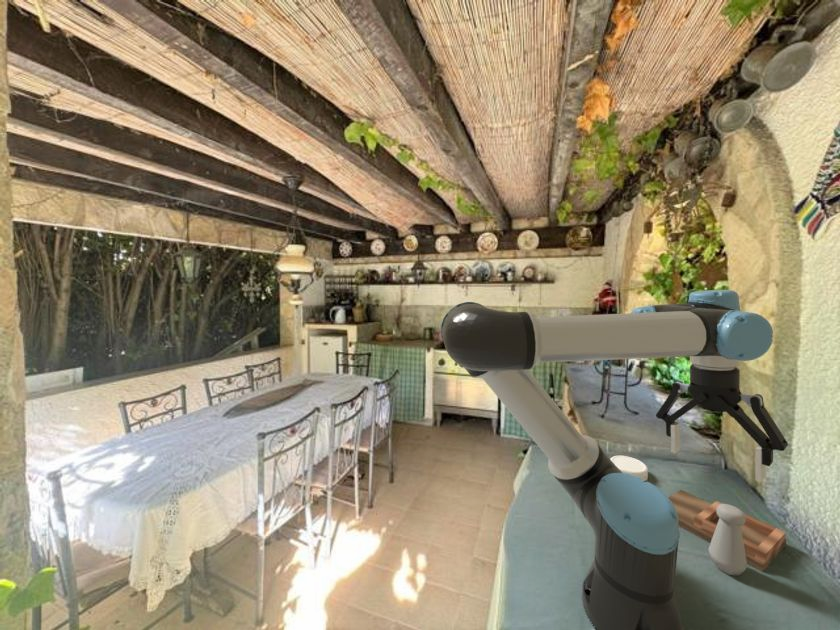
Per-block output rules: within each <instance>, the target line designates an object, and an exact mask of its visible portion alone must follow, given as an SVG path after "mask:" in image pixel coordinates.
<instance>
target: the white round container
mask: <svg viewBox="0 0 840 630" xmlns="http://www.w3.org/2000/svg"><path fill="white" fill-rule="evenodd" d="M610 460H611V461H612V462H613V463H614V464H615V465H616V466H617V467H618V468H619V469H620V470H621V471H622V472H623V473H624V474H629V475H633V476H636V477H639V478H641V480H642V481H643V482H644V481H645V482H647V481H648V478H649V477H648V475H649V468H648V466H647V465H646V464H645V463H644V462H642V461H641V460H639V459H637V458H634V457H632V456H627V455H614V456H612V457H610Z"/></svg>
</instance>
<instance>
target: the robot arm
mask: <svg viewBox="0 0 840 630" xmlns="http://www.w3.org/2000/svg"><path fill="white" fill-rule="evenodd" d="M740 305H741V303H740V297H739V294H738V292H737V291H735V290H730V289H710V290H709V289H708V290H697V291H692V292H690V293H689V295H688V300H687V302H683V303H670V304H669V303H668V304H654V305H652V304H648V305H646V306H640V307H635V308H633V309H632V310H631V311H630V313H609V314H608V313H606V314H586V315H565V316H564V315H563V316H561V315H560V316H537V317H535V316H533V315H532V313H530V312H528V311H503V310H496V309H492V308H489V307H486V306H484V305H483V304H481V303H478V302H474V301H465V302H461V303H458V304H457V305H455V306H453V307H452V308H450V309H449V310H448V311H447V312H446V314H445V315H444V317H443V318H442V321H441V324H440V335H441V338H442V339H441V340H442V342H443V344H444V347H445V348H444V349H445V350H446V353H447V354H448V356H449V357H450V358H451V360H452V361H454V363H455V364H457V365H458V366H461V367H462V368H464V370H466V372H467V373H468V374H469V375H470V377H472V378H474V379H482V380H483V381H484V382H485V384H487V386H488V387H489V388H490V389H491V391H492V392H493V393H494V395H495V396H496V397H497V399H499V400H500V401H501V403H502V405H504V406H505V408H506V409H507V410H508V411H509V412H510V414H511V415H512V416H513V417H514V418H515V420H516V421H517V422H518V423H519V425H520V426H521V427H522V429H524V431H525V432H526V433H527V434H528V435H529V437H530V438H531V439H532V440H533V441H534V443H535V444H536V446H538V448H539V449H540V450H541V451H542V453H543V454H544V455H545V457H547V459H548V460H547V461H548V462H547V467H548V470H549V471H550V473H551V475H553V477H554V478H555V480H557V482H558V483H559V484H560V485H561V486H562V488H563V490H565V492H566V493H567V494H568V495H569V496H570V498H571V499H572V501H574V503H575V505H576V506H577V508H578V509H579V511H580V512H581V514H582V515H583V517H584V519H585V520H586V521H587V523H588V524H589V526H590V527H591V529H592V531H593V533H594V537H595V538H594V557H593V558H594V560H593V561H592V563H591V566H590V567H589V569H588V571H587V573H586V574H585V577H584V579H583V582H582V587H581V589H582V590H581V603H582V602H583V603H582V606H584V607H583V610H584V609H585V610H584V612H585V611H586V613H585V615H586V614H587V615H586V617H587V616H588V617H587V619H588V618H589V619H590V620H589V619H588V620H589V622H590V621H591V622H592V623H591V622H590V623H591V625H592V624H593V625H592V626H593V627H594V626H595V628H596V629H597V630H685V626H684V622H683V619H682V616H681V613H680V609H679V606H678V603H677V599H676V597H675V581H676V572H677V571H676V570H677V560H678V553H679V552H678V551H679V541H680V536H681V534H680V533H681V532H680V526H679V525H678V515H677V511H676V509H675V507H674V505H673V503H672V502H671V500H670V499H669V498H668V497H669V496H668V495H667V494H666V493H664V492H663V491H662V490H661V489H660V488H658V487H657V486H656V485H655V484H653V483H651V482H649V481H645V482H643V481H642V480H641V478H639V477H636V476H633V475H629V474H624V473H623V472H622V471H621V470H620V469H619V468H618V467H617V466H616V465H615V464H614V463H613V462H612V461H611V460H610V459H611V457H609V456H608V455H607V453H606V452H605V451H604V450H603V448H602V447H601V446H600V445H599V444H598V442H597V441H596V440H595V439H594V438H593V437H591V436H589V435H583V434H581V433H580V432H579V430H578V429H577V427H575V425H574V424H573V423H572V422H571V421H570V420H569V418H568V417H567V416H566V414H565V413H564V412H563V410H562V409H561V408H560V407H559V406H558V405H557V404H556V402H555V401H554V400H553V399H552V397H551V396H550V395H549V394H548V392H547V391H546V390H545V389H544V388H543V386H542V385H541V383H540V382H539V381H538V380H537V378H535V376H534V375H533V374H532V372H530V370H533V369H534V368H535V367H536V366H537V364H538V363H543V364H544V363H559V362H561V363H565V362H583V361H585V362H586V361H588V362H589V361H590V362H591V361H607V360H608V361H610V360H611V361H612V360H613V361H614V360H634V359H636V360H637V359H659V358H681V357H682V358H683V357H689V362H690V363H691V365H690V366H689V380H690V382H689V384H687V383H684V382H683V381H682V380H677V381H676V382H673V383H672V385H671V390H670V391H671V392H670V393H669V394H668V395H667V398H666V399H665V400H664V402H663V404H662V405H661V407H660V408H659V410H658V411H657V413H656V414H655V416H656V419H658V420H659V419H661V420H662V421H664V422H665V427H666V428H665V434H666V436H667V437H669V438H670V452H671V453H672V454H677V453H678V452H679V451H680V450H681V422H679V421H676V420H678V419H679V418H681V417H682V416H683V415H685V414H686V413H688V412H689V411H691V410H692V409H693V408H696V406H700V407H701V408H702V409H704V410H710V411H711V410H712V411H715V412H718V413H722V414H723V413H727V414H728V415H729V417H731V418H733V419H734V420H735V421H736V422H737V423H738V424H739V425H740V426H741V427H742V429H744V431H745V432H746V433H747V434H748V435H749V436H750V437H751V438H752V440H754V441H755V443H756V444H758V445H757V446H756V447H755V452H754V453H755V454H754V455H755V457H754V458H755V459H754V460H755V461H754V462H755V463H754V464H755V465H754V466H755V468H754V469H755V470H754V471H755V473H754V474H755V476H754V477H755V478H754V480H755V481H756V482H758V483H762V482H763V480H764V479H765V478H766V467H770V466H771V465H772V464H773V463H774V451H780V452H783V451H786V449H787V447H788V446H789V443H788V441H787V439H786V438H785V437H784V435H783V433H782V432H781V430H780V429H779V427H778V426H777V424H776V422H775V420H774V419H773V418H772V416H771V415H770V413H769V412H768V409H767V408H766V407H765V401H764V398H763V396H762V394H760V393H756V394H754V395H753V394H752V395H751V394H743V393H742V392H741V389H740V384H741V383H740V382H741V381H740V380H741V379H740V375H741V374H740V373H741V372H740V369H739V368H738V367H739V366H740V361H743V362H748V361H749V362H750V361H755V360H756V359H759V358H761V357H763V356H764V355H765V354H766V353H767V352H768V351H769V350H770V348H771V346H772V344H773V341H774V340H773V337H774V330H773V327H772V325H771V323H770V322H769V320H768V319H767V318H766V317H764V316H762V315H760V314H758V313H756V312H755V313H754V312H749V311H748V312H747V311H742V310H741V306H740ZM685 392H688V393H689V395H690V396H691V397H692V400H690V401H688V402H687V403H686V404H684V405H683V406H681V408H678V409H677V410H676V411H674V412H673V413H672V414H671V415H670V414H669V412H670V411H671V410H672V408H673V407H674V405H675V404H676V402H677V400H678V399H679V397H680V396H681V394H684V393H685ZM740 402H745V404H746V405H747V406H748V407H750V408H751V411H752V413H753V414H754V416H755V417H756V420H757V421H758V422H759V424H760V426H761V427H762V429H763V430H764V431H763V430H762V429H761V428H760V427H759V426H758V424H756V423H755V422H754V421H753V420H752V418H751V417H750V416H749V415H748V414H747V413H746V412H745V410H744V409H743V407H741V406H740V404H739V403H740ZM595 628H594V629H595ZM596 629H595V630H596Z"/></svg>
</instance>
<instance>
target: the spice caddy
mask: <svg viewBox="0 0 840 630" xmlns="http://www.w3.org/2000/svg"><path fill="white" fill-rule="evenodd" d="M667 497H668V498H669V499H670V500H671V502H672V503H673V505H674V507H675V509H676V511H677V515H678V525H679V528H683V529H684V530H686V531H688V532H689V533H691V534H693V535H695V536H697V537H699V538H700V539H702V540H703V541H706V542H707V543H709V544H710V543H711V540H712V537H713V535H714V532H715V529H716V526H717V523H718V521H719V517H718V515H717V513H716V509H717V507H718V505H720V504H724V502H721V501H718V500H716V501H714V502H713V503H711V502H708V501H706V500H704V499H702V498H700V497H698V496H696V495H693V494H691V493H689V492H687V491H685V490H684V489H683V490H682V489H680V490H678V491H676V492H675V493H673V494H671V495H670V496H667ZM744 514H745V517H746V521H745V524H744V525H742V526H740V527H741V532H742V538H743V543H744V549H745V554H746V560H747V565H750V566H751V567H752V568H755V569H756V570H758V571H760V572H762V573H763V572H764V571H765V570H766V568H767V567H768V566H769V565H770V564H771V563H772V562H773V561H774V559H775V558H776V557H777V556H778V555H779V554H780V552H781V551H782V550H783V549H784V548H785V547H786V546H785V545H787V538H786V535H787V532H786V531H784V530H782V529H780V528H777V527H775V526H773V525H771V524H768V523H766V522H764V521H762V520H759V519H757V518H756V517H753V516H752V515H749V514H747V513H744ZM784 546H785V547H784ZM783 547H784V548H783ZM782 548H783V549H782ZM778 553H779V554H778Z"/></svg>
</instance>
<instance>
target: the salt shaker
mask: <svg viewBox="0 0 840 630" xmlns="http://www.w3.org/2000/svg"><path fill="white" fill-rule="evenodd" d="M716 513H717V515H718V517H719V521H718V523H717V526H716V529H715V532H714V535H713V537H712V540H711V543H709V547H708V553H709V554H708V555H710V559H711V560H712V563H713V564H714V565H715V567H716V568H717V569H718V570H720V571H721V572H723V573H725V574H727V575H729V576H740V575H742V574H743V572H745V571H746V570H747V567H748V564H747V560H746V554H745V549H744V543H743V538H742V532H741V527H740V526H742V525H744V524H745V521H746V517H745V514H746V513H745V512H743V510H741V509H740V508H738V507H736V506H734V505H731V504H728V503H723V504H720V505H718V507H717V509H716Z"/></svg>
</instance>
